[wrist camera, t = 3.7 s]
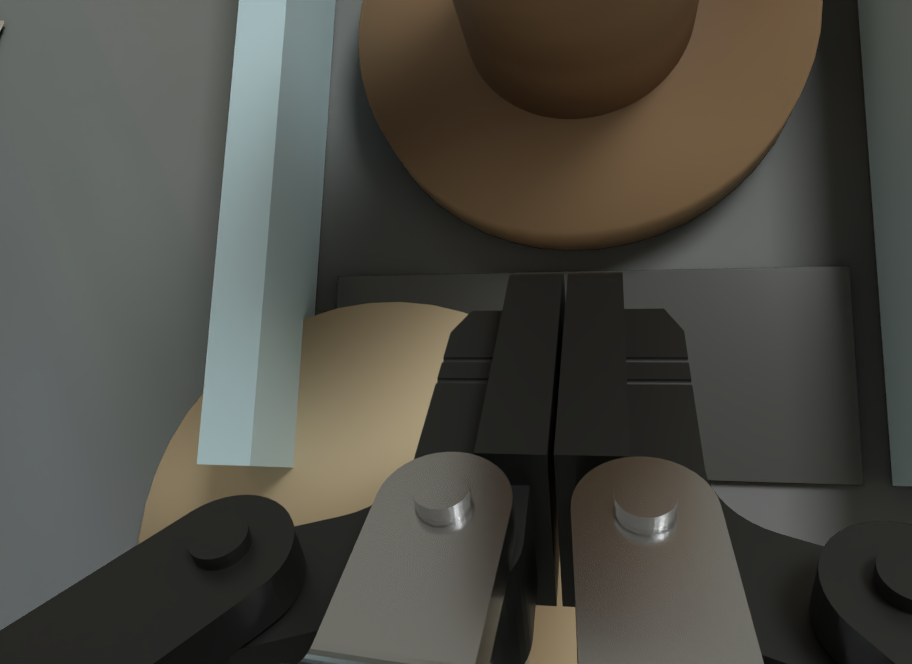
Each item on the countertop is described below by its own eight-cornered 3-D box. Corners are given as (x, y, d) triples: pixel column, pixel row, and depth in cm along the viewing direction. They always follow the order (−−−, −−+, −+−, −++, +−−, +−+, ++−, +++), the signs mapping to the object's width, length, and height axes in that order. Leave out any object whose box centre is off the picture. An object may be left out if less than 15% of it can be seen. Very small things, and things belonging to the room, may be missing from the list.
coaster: (77, 482, 17) (59, 482, 16) (458, 215, 16) (453, 205, 15) (303, 951, 14) (290, 972, 13) (766, 651, 13) (773, 658, 13)
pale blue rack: (955, 487, 13) (1032, 489, 11) (258, 466, 16) (196, 464, 13) (895, -201, 16) (947, -322, 14) (304, -126, 18) (258, -217, 16)
